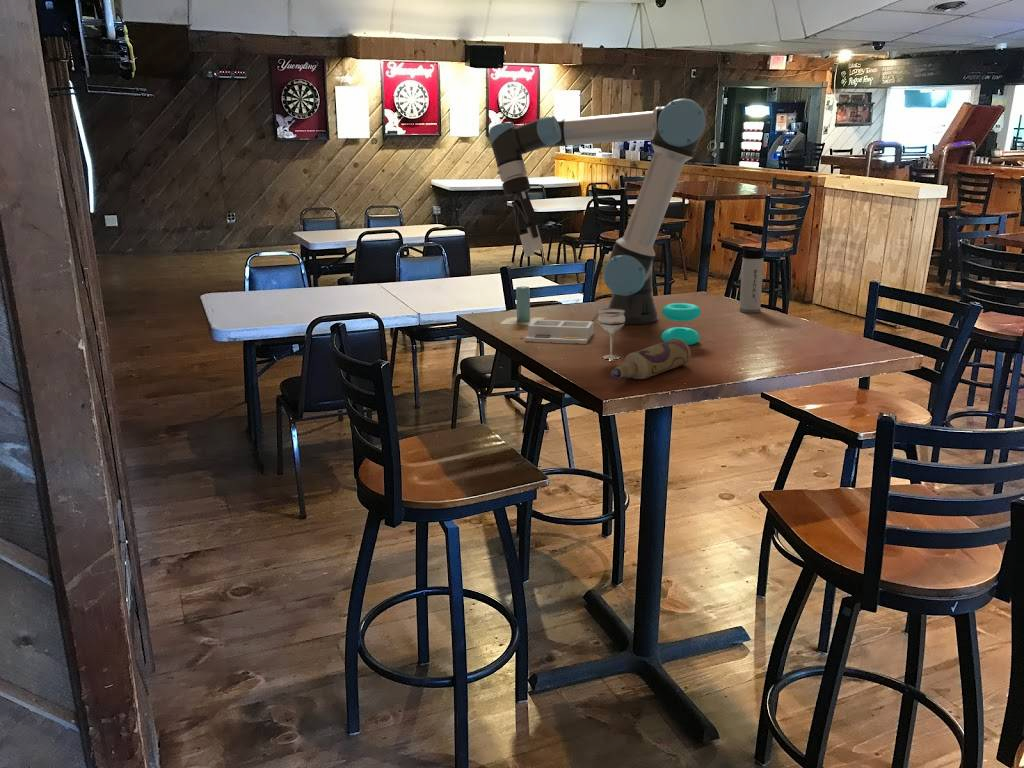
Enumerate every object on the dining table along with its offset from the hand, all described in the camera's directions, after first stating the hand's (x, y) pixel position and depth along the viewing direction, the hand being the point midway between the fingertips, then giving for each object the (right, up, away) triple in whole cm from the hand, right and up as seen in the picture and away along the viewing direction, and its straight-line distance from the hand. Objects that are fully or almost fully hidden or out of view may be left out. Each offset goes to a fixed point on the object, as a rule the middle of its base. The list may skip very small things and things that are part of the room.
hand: (534, 253), depth 235 cm
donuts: (+39, -26, -12) cm, 48 cm away
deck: (-3, -19, +14) cm, 24 cm away
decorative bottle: (+25, -35, -40) cm, 59 cm away
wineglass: (+19, -31, -25) cm, 44 cm away
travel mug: (+68, -15, +24) cm, 73 cm away
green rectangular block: (-3, -18, +13) cm, 23 cm away
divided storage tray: (+7, -24, -4) cm, 25 cm away
